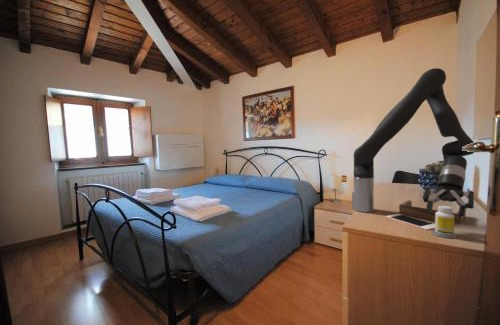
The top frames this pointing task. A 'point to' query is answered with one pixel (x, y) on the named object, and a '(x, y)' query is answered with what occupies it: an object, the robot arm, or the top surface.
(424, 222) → the cell phone
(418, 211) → the brown wooden tray
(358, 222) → the top surface
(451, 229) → the supplement bottle
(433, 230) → the slate coaster
